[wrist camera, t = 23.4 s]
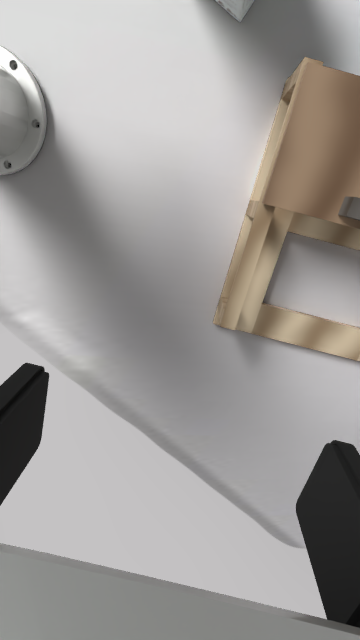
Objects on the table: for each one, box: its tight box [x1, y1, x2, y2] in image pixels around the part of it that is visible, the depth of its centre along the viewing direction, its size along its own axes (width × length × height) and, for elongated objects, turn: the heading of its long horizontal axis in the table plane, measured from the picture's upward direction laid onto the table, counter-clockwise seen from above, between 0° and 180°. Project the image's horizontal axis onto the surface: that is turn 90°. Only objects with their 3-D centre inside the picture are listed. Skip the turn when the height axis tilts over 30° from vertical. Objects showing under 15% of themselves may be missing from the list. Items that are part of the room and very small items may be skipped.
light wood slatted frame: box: [213, 57, 360, 361], centre depth 36 cm, size 24×27×7 cm
